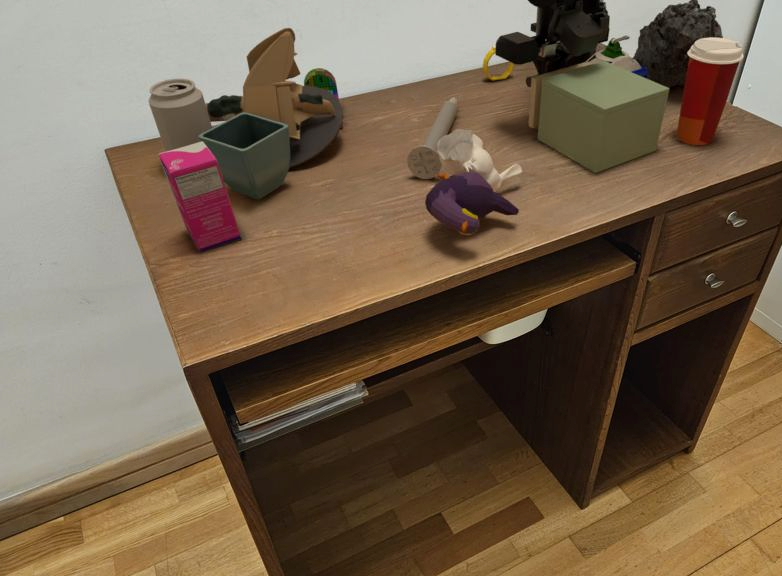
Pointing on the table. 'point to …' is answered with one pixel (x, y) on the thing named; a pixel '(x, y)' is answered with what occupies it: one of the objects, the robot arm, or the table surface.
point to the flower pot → (250, 153)
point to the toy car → (618, 58)
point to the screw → (432, 144)
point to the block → (322, 81)
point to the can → (179, 112)
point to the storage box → (601, 115)
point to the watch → (485, 66)
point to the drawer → (536, 87)
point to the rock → (674, 41)
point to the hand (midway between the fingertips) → (548, 93)
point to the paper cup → (707, 88)
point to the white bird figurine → (471, 158)
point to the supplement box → (200, 195)
